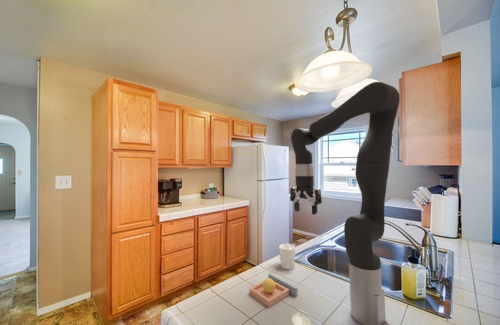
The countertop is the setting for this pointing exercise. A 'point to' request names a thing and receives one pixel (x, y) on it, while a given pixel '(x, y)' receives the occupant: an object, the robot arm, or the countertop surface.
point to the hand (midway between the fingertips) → (305, 212)
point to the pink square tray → (269, 294)
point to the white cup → (287, 256)
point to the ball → (268, 285)
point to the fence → (284, 284)
